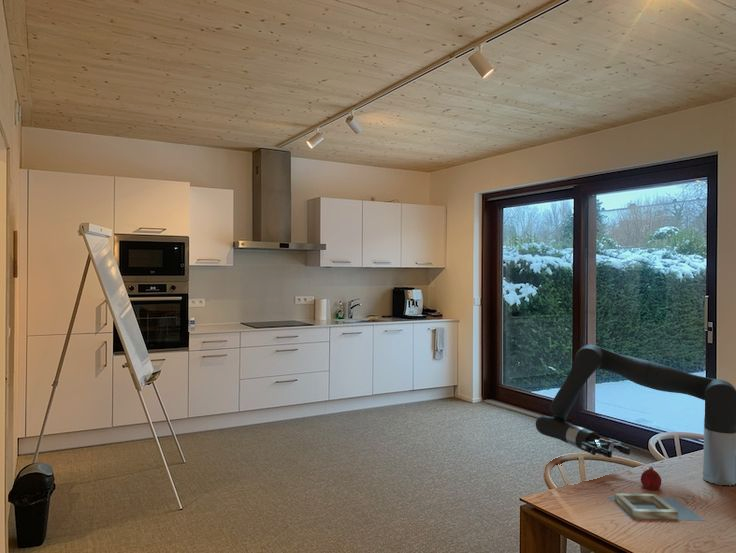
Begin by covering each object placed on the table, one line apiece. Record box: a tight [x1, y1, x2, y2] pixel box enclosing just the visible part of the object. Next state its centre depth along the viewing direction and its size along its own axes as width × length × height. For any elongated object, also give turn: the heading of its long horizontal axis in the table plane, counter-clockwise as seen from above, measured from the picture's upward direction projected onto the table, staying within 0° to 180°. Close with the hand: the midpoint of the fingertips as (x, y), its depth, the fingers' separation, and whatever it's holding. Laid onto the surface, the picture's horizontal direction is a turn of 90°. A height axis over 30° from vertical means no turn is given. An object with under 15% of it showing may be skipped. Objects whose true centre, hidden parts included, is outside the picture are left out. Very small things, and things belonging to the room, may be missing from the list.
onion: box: [640, 466, 662, 491], centre depth 171 cm, size 6×6×8 cm
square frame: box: [614, 492, 678, 520], centre depth 155 cm, size 12×12×2 cm
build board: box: [607, 495, 705, 522], centre depth 156 cm, size 20×15×2 cm
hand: (620, 453), depth 181 cm, fingers open, 8 cm apart
